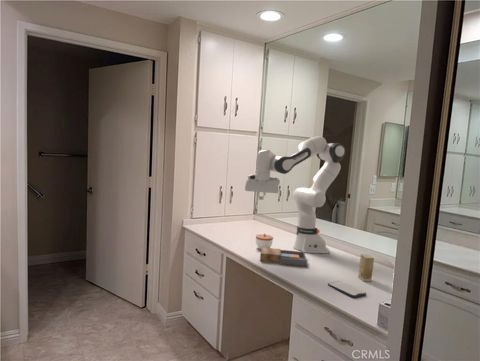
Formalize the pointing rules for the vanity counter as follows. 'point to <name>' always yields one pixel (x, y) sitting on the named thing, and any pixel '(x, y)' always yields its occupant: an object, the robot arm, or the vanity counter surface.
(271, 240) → the lidded jar
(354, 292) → the phone case
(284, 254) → the tile
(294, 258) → the tile
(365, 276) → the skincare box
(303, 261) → the tray
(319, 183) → the robot arm
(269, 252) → the cardboard box
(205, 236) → the vanity counter surface
